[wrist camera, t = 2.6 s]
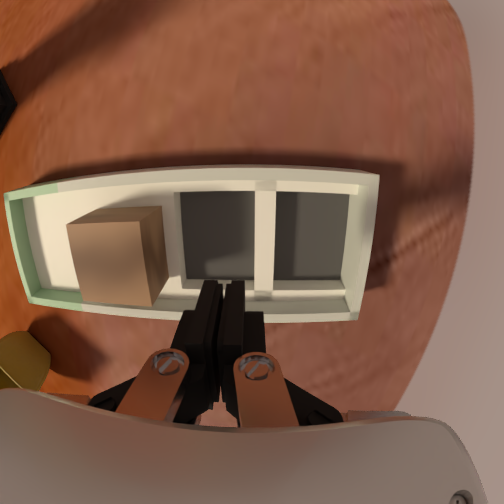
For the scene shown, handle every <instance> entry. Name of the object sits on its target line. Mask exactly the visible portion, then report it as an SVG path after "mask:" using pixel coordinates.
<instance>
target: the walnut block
mask: <svg viewBox="0 0 504 504" xmlns="http://www.w3.org/2000/svg"><path fill="white" fill-rule="evenodd" d="M66 228H67V234H68V240H69V245H70V250H71V255H72V259H73V264H74V268H75V272H76V276H77V280H78V284H79V288H80V291H81V295H82V298H83V301H92V302H102V303H112V304H124V305H136V306H151V307H152V306H153V304H154V302H155V301H156V299H157V297H158V296H159V294H160V292H161V291H162V289H163V287H164V285H165V284H166V282H167V280H168V279H169V273H168V265H167V256H166V247H165V237H164V227H163V215H162V206H143V207H123V208H106V209H96V210H94V211H92V212H90V213H88V214H85V215H83V216H81V217H79V218H77V219H76V220H74V221H72V222H70V223H68V224H66Z"/></svg>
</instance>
